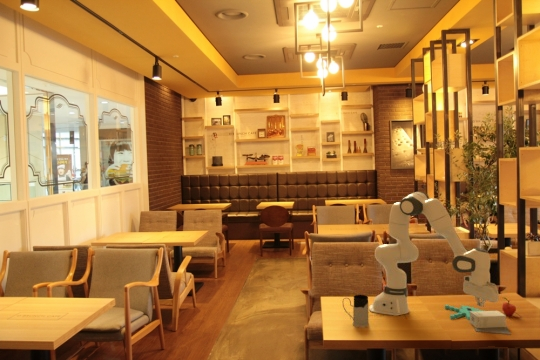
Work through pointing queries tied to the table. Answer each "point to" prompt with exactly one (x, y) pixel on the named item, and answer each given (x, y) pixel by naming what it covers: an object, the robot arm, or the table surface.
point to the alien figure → (461, 311)
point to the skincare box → (487, 319)
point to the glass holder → (360, 311)
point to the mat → (494, 330)
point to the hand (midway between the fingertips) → (480, 306)
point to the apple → (508, 308)
